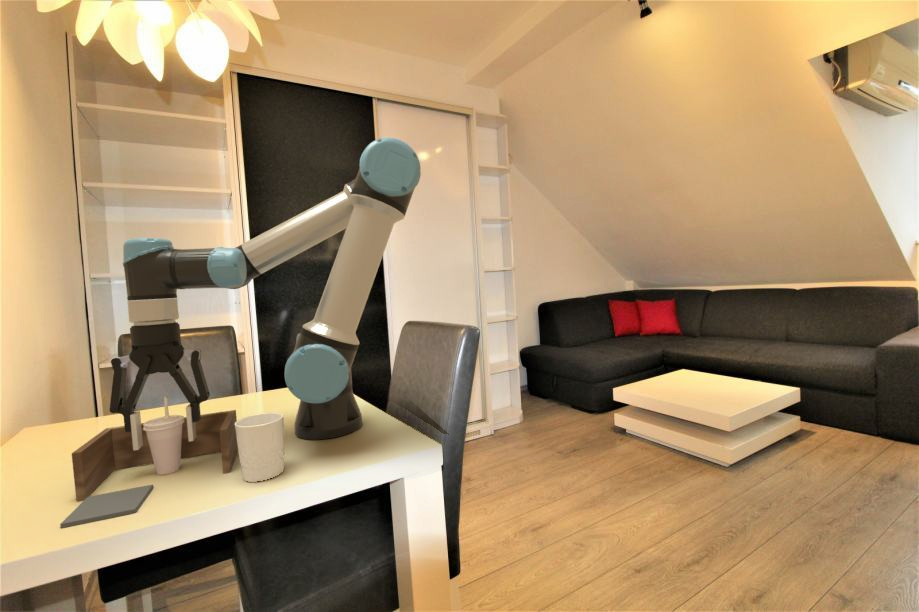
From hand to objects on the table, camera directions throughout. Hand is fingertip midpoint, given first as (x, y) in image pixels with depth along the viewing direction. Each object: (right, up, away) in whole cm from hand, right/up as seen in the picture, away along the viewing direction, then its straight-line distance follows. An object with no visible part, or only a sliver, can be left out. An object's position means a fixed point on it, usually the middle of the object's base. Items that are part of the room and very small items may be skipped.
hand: (165, 443), depth 80 cm
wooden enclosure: (0, -5, 0) cm, 5 cm away
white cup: (+20, -5, -4) cm, 21 cm away
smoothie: (0, -5, 0) cm, 5 cm away
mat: (0, -6, -13) cm, 14 cm away
